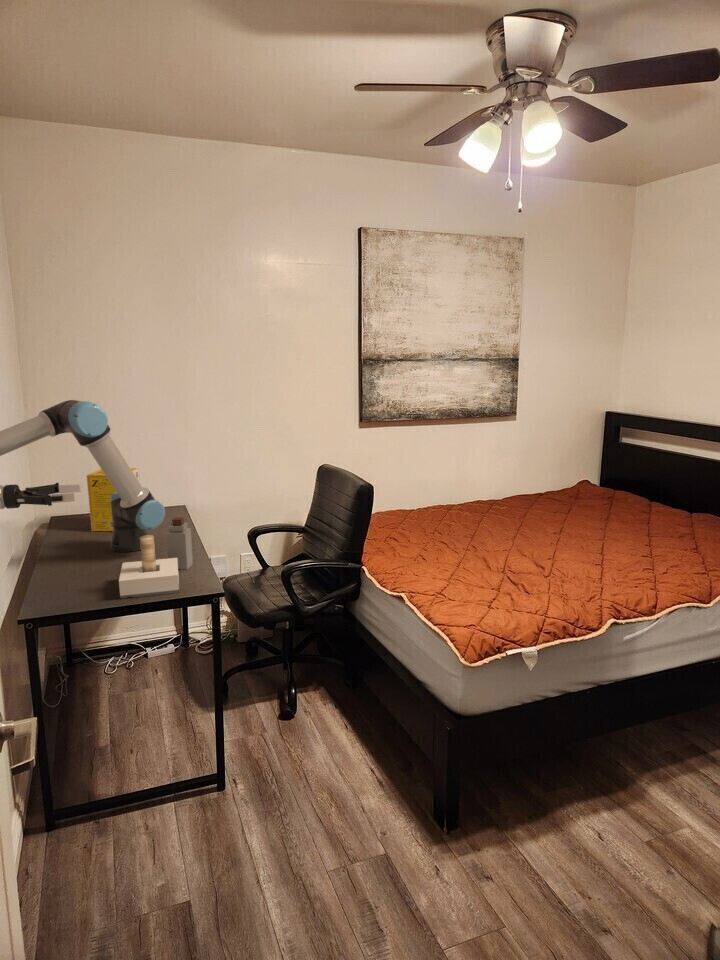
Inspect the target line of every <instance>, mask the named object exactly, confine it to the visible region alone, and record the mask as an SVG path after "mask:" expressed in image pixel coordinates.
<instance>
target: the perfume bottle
mask: <svg viewBox="0 0 720 960" xmlns="http://www.w3.org/2000/svg"><path fill="white" fill-rule="evenodd" d="M184 519H185V518H184V517H183V516H182V517H181V516H179V517H177V516H176V517H173V519H171V524H170V525H169V526H168V529H169V530H168V531H167V532H166V534H165V535H166V547H167V559H169V558H177V559H178V569H186V571H187V570H189V568H190V567H192V565H193V564H194V560H193V559H194V558H193V544H192V543H193V542H192V528H191V527H188V524H189V523H188V522H184V521H185V520H184Z"/></svg>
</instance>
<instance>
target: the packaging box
mask: <svg viewBox="0 0 720 960" xmlns="http://www.w3.org/2000/svg"><path fill="white" fill-rule="evenodd" d="M130 469H131V470H132V472H133V473H134V475H135V477H136V478H137V480H138V481H139V483H140V484H141V482H140V481H141V480H140V468H138V467H137V468H132V467H130ZM85 477H86V484H87V485H86V486H87V495H88V505H89V516H90V526H91V532H92V531H113V519H112V509H111V502H110V501H111V494H112V493H113V492H116V490H115V489H114V487H113V486H112V484H111V483H110V481H109V480H108V478H107V477H106V475H105V474H104V472H103V471H102V469H101V468H100V469H98V470H95V471H93V472H91V473H89V474H87V475H86V476H85Z"/></svg>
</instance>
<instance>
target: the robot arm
mask: <svg viewBox="0 0 720 960" xmlns="http://www.w3.org/2000/svg"><path fill="white" fill-rule="evenodd" d="M108 422H109V417H108V415H107V413H106V411H105V409H104V408H102V407H101V406H100V405H99V404H97V403H94V402H91V401H88V400H86V401H85V400H77V399H69V400H65V401H62V402H60V403H57V404H55V405H52V406H51V407H48V408H46V409H43V410H41V411H39V412H38V415H36V416H34V417H32V418H29V419H26V420H25V421H24V420H23V421H22V422H20V423H17V424H14V425H12V426H10V427H7V428H4V429H2V430H0V457H1V456H3V455H6V454H8V453H10V452H14V451H15V450H18V449H20V448H22V447H25V446H27V445H30V444H32V443H34V442H36V441H39V440H41V439H44V438H45V437H48V436H49V437H52V438H53V437H55V436H58V435H61V434H67V433H70V434H72V435H73V437H74V439H76V441H77V443H78V444H79V445H80V447H85V448H87V449H88V451H89V452H90V454H91V456H92V458H93V459H94V460H95V461H96V463H97V465H98V466H99V468H100V469H102V471H103V472H104V474H105V475H106V477H107V478H108V480H109V481H110V483H111V484H112V486H113V487H114V489H115V490H116V492H113V493H112V494H111V501H110V502H111V509H112V519H113V532H111V533H112V534H111V537H110V542H109V546H110V547H109V549H110V550H111V551H112V550H113V551H112V552H115V551H117V552H116V553H130V552H129V551H133V552H138V551H137V550H139V551H141V548H140V537H141V536H144V535H149V534H148V532H147V531H151V530H154V529H156V528H158V527H160V525H161V524H162V522H164V520H165V516H166V509H165V506H164V504H163V503H162V502H161V501H160V500H158V499H155V498H154V495H153V494H152V493H151V491H150V490H149V488H148V487H143V486H142V484H141V482H140V483H139V481H138V480H137V478H136V477H135V475H134V473H133V472H132V470H131V469H130V468H131V467H130V466H129V464H128V462H127V460H126V459H125V458H124V456H123V455H122V453H121V452H120V450H119V448H118V446H117V445H116V443H115V442H114V440H113V438H112V437H111V436H110V434H111V430H112V429H111V427H110V425H109V424H108ZM20 488H21V487H20V486H19V485H18V484H5V485H2V484H0V510H4V509H5V508H6V509H7V510H8V509H19V508H20V507H21V505H35V506H38V505H39V506H40V505H41V506H47V505H48V507H49V506H50V507H51V506H53V504H56V503H73V502H76V497H75V493H81V492H82V491H81V489H82V488H81V484H80V483H73V484H72V483H71V484H70V483H68V484H59V482H55V483H54V484H47V485H39V486H34V487H33V486H32V487H31V486H30V487H25V489H24V490H21V489H20Z"/></svg>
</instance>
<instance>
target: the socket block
mask: <svg viewBox="0 0 720 960" xmlns="http://www.w3.org/2000/svg"><path fill="white" fill-rule="evenodd" d="M156 570H157V571H154V572H144V573H143V570H142V560H138V561H126V562H122V565H121V569H120V572H119V573H120V574H119V579H118V586H119V587H118V588H119V597H120V598H124V599H128V598H127V597H133V598H141V597H150V596H161V595H167V594H168V595H169V594H177V593H180V578H179V577H180V576H179V570H178V559H177V558H169V559H168V558H158V559H156ZM120 598H119V599H120Z"/></svg>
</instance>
